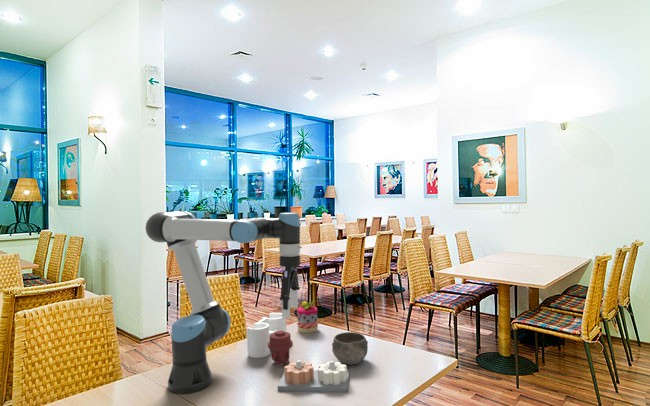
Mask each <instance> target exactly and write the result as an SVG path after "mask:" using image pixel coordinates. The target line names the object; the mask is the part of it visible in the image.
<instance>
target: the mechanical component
mask: <svg viewBox="0 0 650 406" xmlns="http://www.w3.org/2000/svg"><path fill="white" fill-rule="evenodd" d="M293 346H294V342H293V340H292V339H291V333H290V332H288V331H286V332H284V331H276V332H274V333H272V334H270V341H269V342H268V348H269V349H270V351H271V360H272V362H275V363H276V365H277V366H278V367H279V366H281V365H283V364H286V363H289V362H290V349H291V348H292V347H293Z"/></svg>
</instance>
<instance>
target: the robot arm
mask: <svg viewBox="0 0 650 406" xmlns="http://www.w3.org/2000/svg"><path fill="white" fill-rule="evenodd" d="M145 233H146V235H147V237H148V238H149V239H150V240H151V241H153V242H157V243H166V244H167V245H166V246H167V248H168V249H169V250H170V251H172V252H173V254H174V257H175V260H176V262H177V265H178V269H179V272H180V275H181V278H182V281H183V283H184V287H185V290H186V293H187V296H188V299H189V302H190V305H191V311H190V314H189V315H187V316H183V317H180V318H178V319H177V320H175V321H174V322H173V324H172V326H171V333H170V338H171V354H172V355H171V357H172V367H171V369H170V373H169V376H168V381H167V389H168V391H170V392H171V393H174V394H183V395H184V394H191V393H196V392H199V391H201V390H204V389H206V388H208V387H209V386H211V384H212V383H213V374H212V371H211V368H210V365H209V363H208V360H207V348H208V347H209V346H211V345H212V344H214V343H216V342H217V341H219V340H221V339H222V338H223V337H225V336H226V335H227V334H228V332H229V331H230V328H231V323H232V321H231V317H230V314H229V313H228V311H227V310H225V309H224V308H222V307H221V305H220V302H219V301H216V300H214V297H213V293H212V291H211V287H210V285H209V281H208V278H207V275H206V273H205V270H204V267H203V263H202V260H201V257H200V254H199V252H198V249H197V246H196V245H197V244H196V243H197V241H214V242H215V241H220V242H221V241H222V242H236V243H239V244H247V243H249V244H250V243H252V242H254V241H259V240H264V239H279V240H278V241H279V246H278V247H279V251H278V252H279V255H280V256H279V266H280V267H284V270H282V274H281V275H282V279H281V287H280V288H281V289H280V297H279V301H281V313H282V318H286V319H288V320H289V319H291V308H295V309H296V308H297V309H298V308H299V307H298V306H299V305H298V304H299V302H298V300H299V296H298V295H299V294H298V293H299V291H300V288H301V287H300V285H299V278H298V277H299V276H298V267H299V266H300V265H301V255H300V254H301V249H302V247H303V246H302V245H301V219H300V214H299V213H297V212H280V213H279V215H278V217H276V218H272V217H260V216H259V217H252V218H250V219H220V218H219V219H216V218H215V219H213V218H212V219H210V218H209V219H208V218H196V216H195V215H194V214H193V213H191V212H189V211H184V210H176V211H161V212H157V213H154V214H152V215H150V216H149V218H148V220H146V223H145Z"/></svg>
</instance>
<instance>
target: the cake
mask: <svg viewBox="0 0 650 406" xmlns="http://www.w3.org/2000/svg"><path fill="white" fill-rule="evenodd" d="M314 303H315V300H312V301H311V302H307V301H305V300H303V301H302V303H301V306H300V307H298V308H297V309H296V313H297V314H296V316H297V317H296V318H297V323H296V325H297V331H298V333H300V334H312V333H317V332H318V327H319V320H318V316H319V314H318V307H316V306H314Z"/></svg>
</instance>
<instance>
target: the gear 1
mask: <svg viewBox="0 0 650 406" xmlns="http://www.w3.org/2000/svg"><path fill="white" fill-rule="evenodd" d="M301 361H302V369H296V362H293V361H292V362H290V363H289V362H288V365H285V366H284V372H285V379H286V382H288V383H291V382H292V383H294V385H299V384H300V383H305V384H306V383H309V382H310V379H313V378H314V371H315V370H314V366H313V364H312V363H311V362H310V361H308V362H305V361H304V360H301Z"/></svg>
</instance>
